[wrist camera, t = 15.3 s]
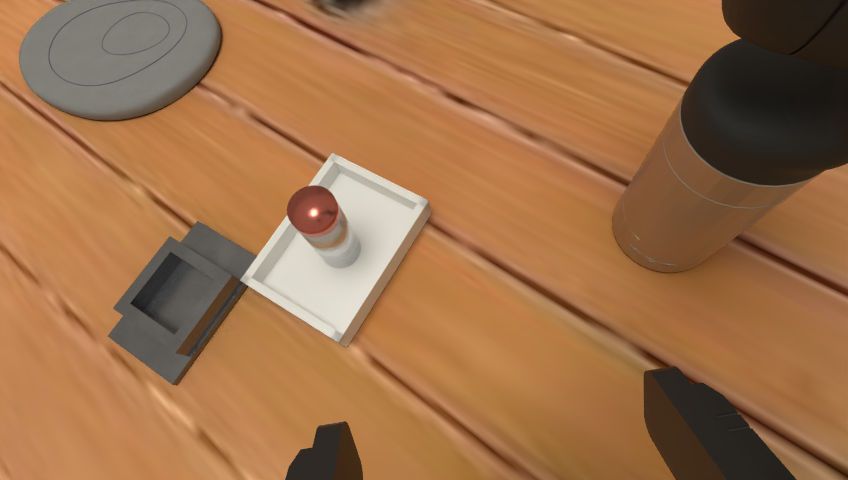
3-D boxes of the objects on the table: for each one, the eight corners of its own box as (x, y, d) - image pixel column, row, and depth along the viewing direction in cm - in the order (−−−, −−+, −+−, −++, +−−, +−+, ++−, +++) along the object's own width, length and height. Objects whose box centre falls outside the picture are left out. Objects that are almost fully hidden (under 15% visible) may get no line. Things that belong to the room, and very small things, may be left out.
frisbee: (58, 1, 68) (43, -14, 65) (238, -5, 64) (229, -22, 62) (3, 123, 61) (-17, 111, 58) (201, 124, 57) (189, 111, 55)
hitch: (201, 223, 52) (185, 212, 49) (265, 262, 49) (252, 252, 46) (113, 337, 48) (90, 332, 45) (177, 385, 46) (157, 382, 43)
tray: (340, 167, 52) (332, 152, 49) (431, 213, 49) (428, 200, 46) (253, 288, 48) (239, 280, 46) (347, 347, 45) (338, 342, 42)
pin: (337, 223, 49) (308, 177, 39) (369, 243, 48) (346, 200, 38) (313, 254, 48) (277, 214, 38) (344, 275, 47) (315, 240, 37)
